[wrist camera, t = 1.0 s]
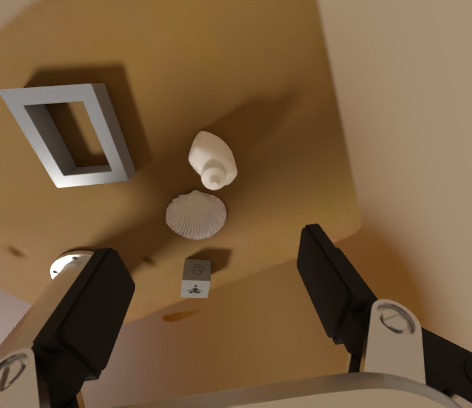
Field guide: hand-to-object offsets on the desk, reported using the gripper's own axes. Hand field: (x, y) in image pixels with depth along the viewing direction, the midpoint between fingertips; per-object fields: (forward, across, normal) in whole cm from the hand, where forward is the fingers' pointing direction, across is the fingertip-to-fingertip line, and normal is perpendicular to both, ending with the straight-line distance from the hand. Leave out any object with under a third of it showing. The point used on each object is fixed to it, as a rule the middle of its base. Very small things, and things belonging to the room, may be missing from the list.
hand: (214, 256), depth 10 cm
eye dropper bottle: (+21, 0, 0) cm, 21 cm away
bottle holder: (+21, +16, -3) cm, 26 cm away
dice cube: (+21, +7, +24) cm, 33 cm away
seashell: (+21, +4, +12) cm, 25 cm away
